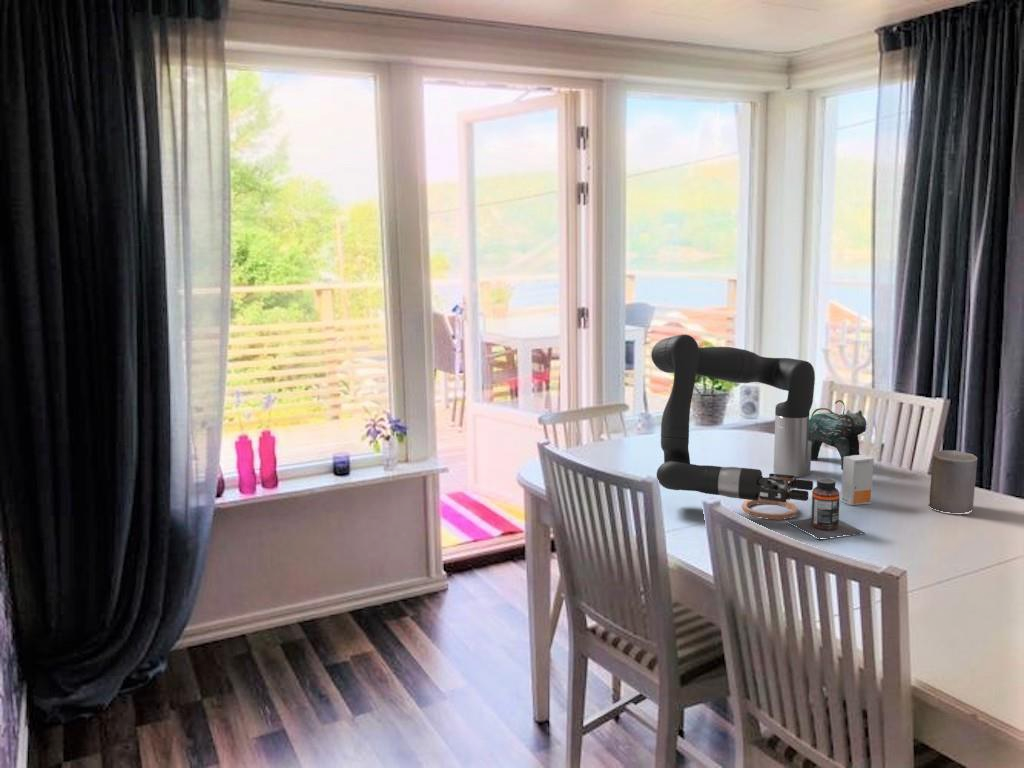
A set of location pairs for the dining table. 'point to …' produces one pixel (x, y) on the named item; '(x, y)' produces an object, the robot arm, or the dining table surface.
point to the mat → (840, 531)
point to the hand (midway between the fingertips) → (810, 490)
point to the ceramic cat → (836, 432)
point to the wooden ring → (768, 515)
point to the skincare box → (857, 479)
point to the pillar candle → (953, 481)
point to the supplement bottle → (825, 505)
